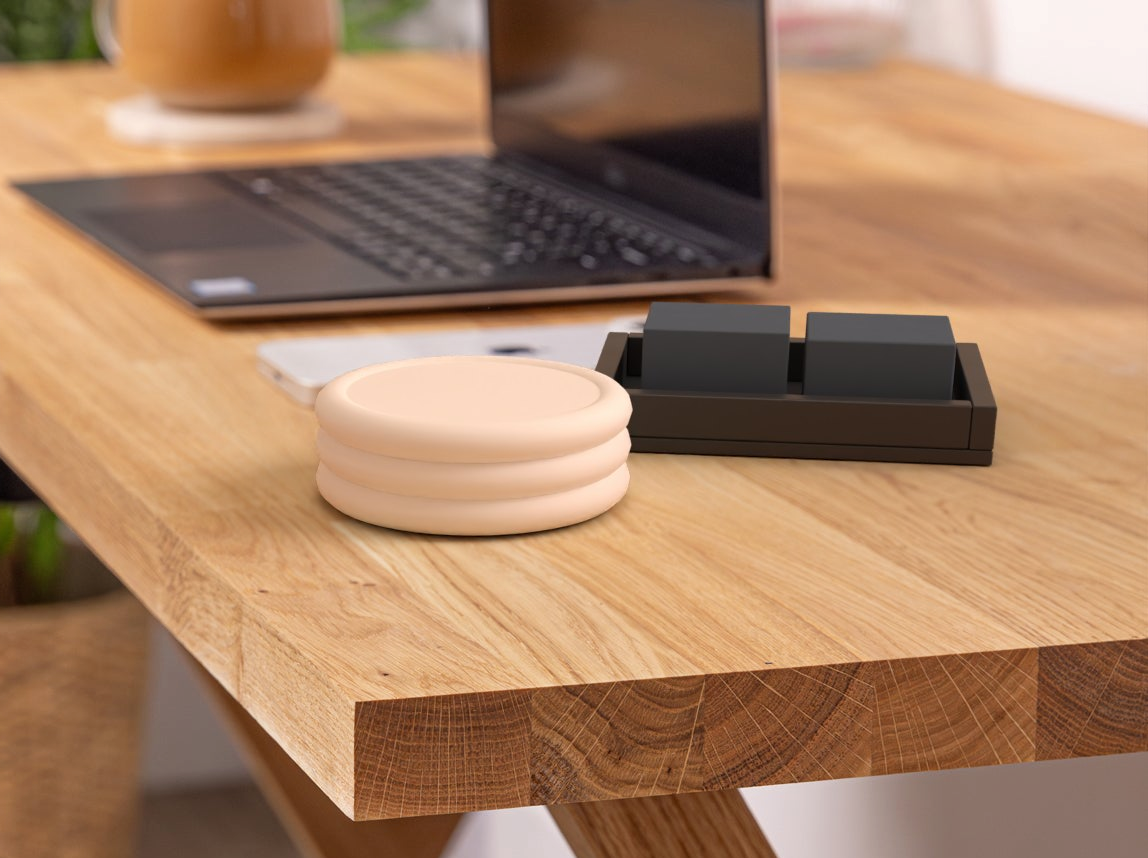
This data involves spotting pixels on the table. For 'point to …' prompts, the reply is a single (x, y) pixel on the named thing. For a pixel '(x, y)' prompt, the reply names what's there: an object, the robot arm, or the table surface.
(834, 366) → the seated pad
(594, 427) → the coaster
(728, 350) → the dark grey block
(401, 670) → the table surface
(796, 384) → the tray
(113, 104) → the table surface
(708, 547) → the table surface
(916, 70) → the table surface
